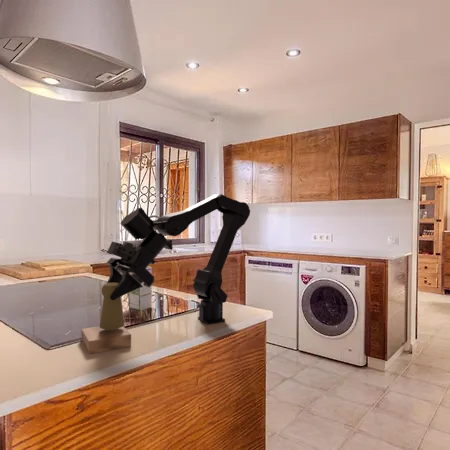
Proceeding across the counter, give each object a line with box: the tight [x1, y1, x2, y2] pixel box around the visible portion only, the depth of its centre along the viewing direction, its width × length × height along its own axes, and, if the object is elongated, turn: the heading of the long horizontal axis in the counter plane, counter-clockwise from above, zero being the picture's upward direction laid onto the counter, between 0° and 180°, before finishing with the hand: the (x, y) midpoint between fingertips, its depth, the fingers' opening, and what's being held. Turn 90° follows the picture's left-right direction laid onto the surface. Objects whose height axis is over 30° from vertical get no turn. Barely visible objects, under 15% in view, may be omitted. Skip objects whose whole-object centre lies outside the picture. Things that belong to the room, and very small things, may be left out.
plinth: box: [80, 325, 132, 355], centre depth 90 cm, size 10×10×3 cm
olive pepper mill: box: [99, 282, 125, 330], centre depth 91 cm, size 6×6×11 cm
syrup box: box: [128, 265, 153, 311], centre depth 123 cm, size 6×6×14 cm
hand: (107, 297), depth 90 cm, fingers closed on olive pepper mill, 5 cm apart
